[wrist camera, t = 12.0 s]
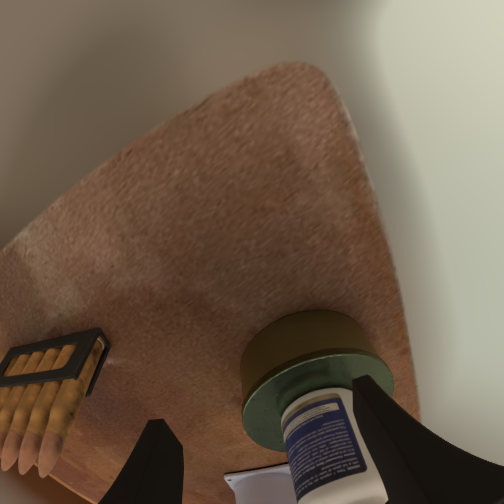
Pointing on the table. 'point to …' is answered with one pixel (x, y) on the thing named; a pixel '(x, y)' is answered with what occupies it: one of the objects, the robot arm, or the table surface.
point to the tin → (302, 368)
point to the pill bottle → (329, 451)
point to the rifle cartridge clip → (46, 396)
